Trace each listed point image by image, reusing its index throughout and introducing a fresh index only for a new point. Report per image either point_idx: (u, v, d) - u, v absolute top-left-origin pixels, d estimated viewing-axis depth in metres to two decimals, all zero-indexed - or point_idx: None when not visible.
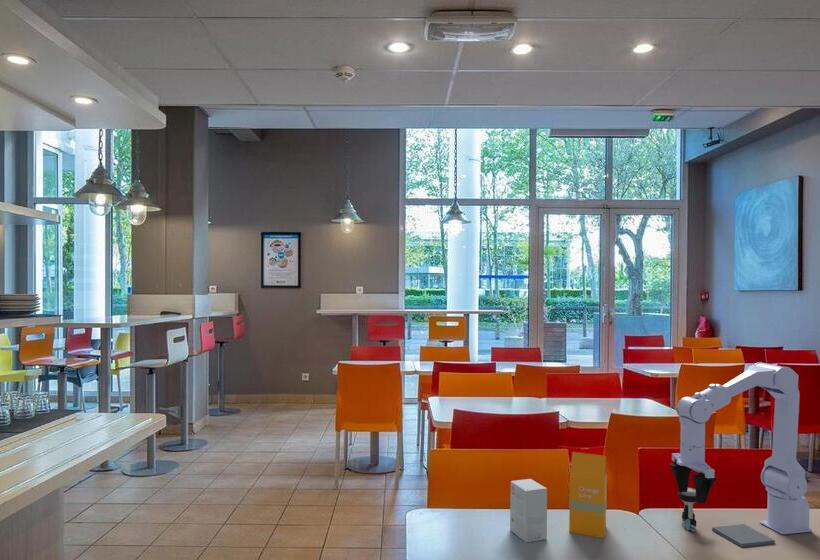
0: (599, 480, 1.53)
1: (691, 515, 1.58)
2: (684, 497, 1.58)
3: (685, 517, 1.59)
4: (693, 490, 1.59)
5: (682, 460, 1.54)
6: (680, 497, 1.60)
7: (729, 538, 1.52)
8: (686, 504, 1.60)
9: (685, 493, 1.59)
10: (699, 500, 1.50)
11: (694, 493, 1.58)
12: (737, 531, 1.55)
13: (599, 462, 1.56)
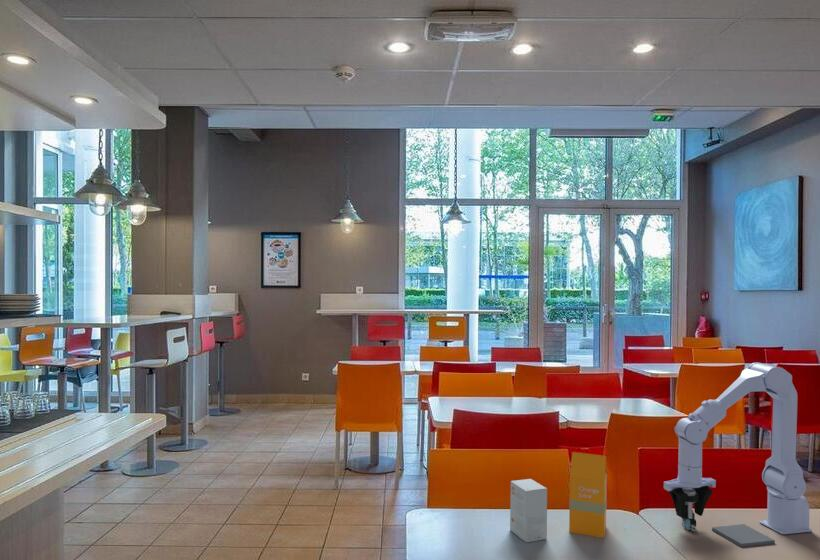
0: (599, 480, 1.53)
1: (691, 515, 1.58)
2: None
3: (685, 517, 1.59)
4: (692, 490, 1.59)
5: None
6: None
7: (729, 538, 1.52)
8: (685, 504, 1.59)
9: None
10: (676, 512, 1.59)
11: (693, 493, 1.58)
12: (737, 531, 1.55)
13: (599, 462, 1.56)
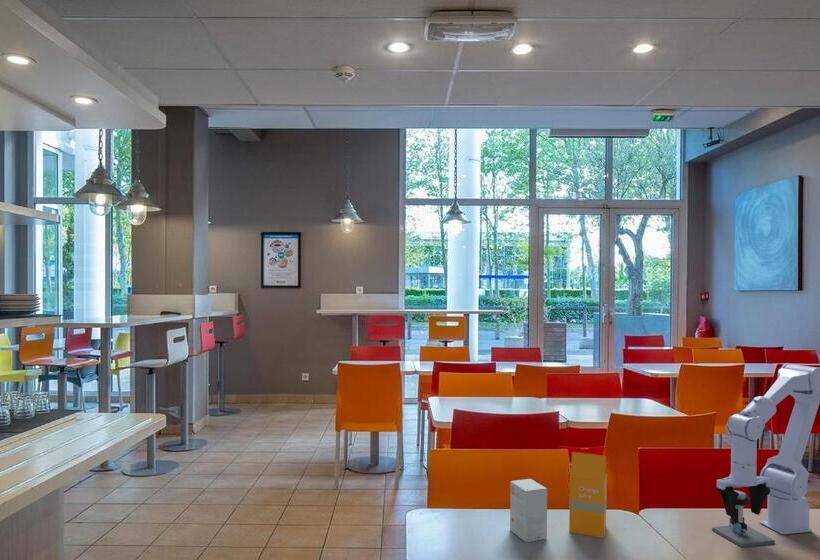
0: (599, 480, 1.53)
1: (741, 519, 1.54)
2: None
3: (735, 521, 1.55)
4: (742, 493, 1.55)
5: None
6: None
7: (729, 538, 1.52)
8: None
9: None
10: (726, 511, 1.54)
11: (744, 496, 1.54)
12: None
13: (599, 462, 1.56)
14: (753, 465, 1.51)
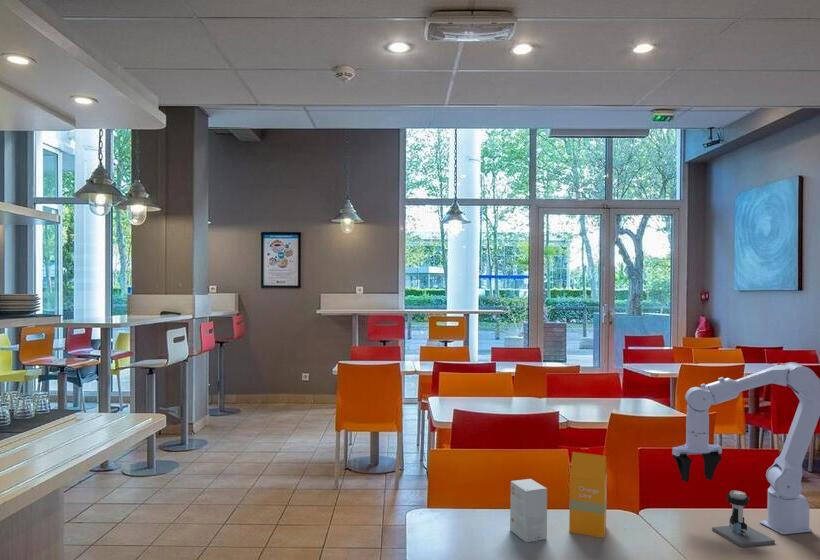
0: (599, 480, 1.53)
1: (741, 519, 1.54)
2: (734, 500, 1.54)
3: (735, 521, 1.55)
4: (742, 493, 1.55)
5: None
6: (729, 500, 1.55)
7: (729, 538, 1.52)
8: (735, 507, 1.55)
9: (735, 496, 1.54)
10: (681, 477, 1.66)
11: (744, 496, 1.54)
12: None
13: (600, 462, 1.56)
14: (705, 433, 1.64)
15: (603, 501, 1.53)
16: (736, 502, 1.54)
